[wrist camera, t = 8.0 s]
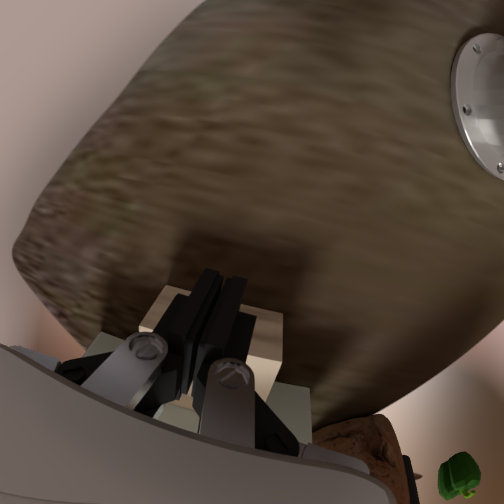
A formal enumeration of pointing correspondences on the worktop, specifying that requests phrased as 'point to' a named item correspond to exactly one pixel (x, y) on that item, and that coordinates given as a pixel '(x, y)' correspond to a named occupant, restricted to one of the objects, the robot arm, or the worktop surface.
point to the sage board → (279, 400)
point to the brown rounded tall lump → (369, 449)
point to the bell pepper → (458, 476)
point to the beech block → (261, 348)
